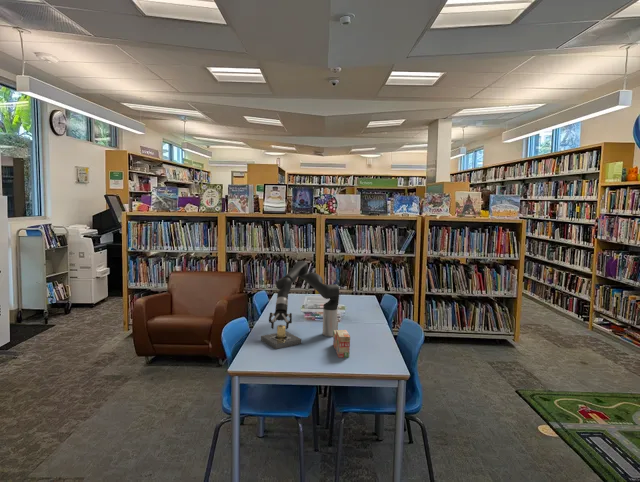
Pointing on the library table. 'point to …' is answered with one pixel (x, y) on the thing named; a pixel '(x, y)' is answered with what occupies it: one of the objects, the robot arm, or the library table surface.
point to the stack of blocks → (341, 343)
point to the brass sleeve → (281, 331)
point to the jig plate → (280, 340)
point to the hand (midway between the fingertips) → (279, 328)
